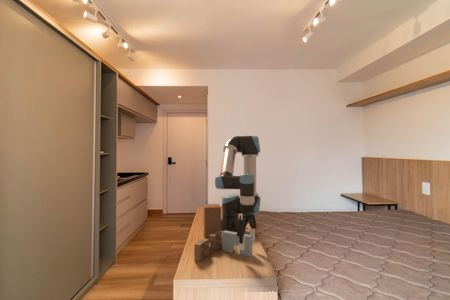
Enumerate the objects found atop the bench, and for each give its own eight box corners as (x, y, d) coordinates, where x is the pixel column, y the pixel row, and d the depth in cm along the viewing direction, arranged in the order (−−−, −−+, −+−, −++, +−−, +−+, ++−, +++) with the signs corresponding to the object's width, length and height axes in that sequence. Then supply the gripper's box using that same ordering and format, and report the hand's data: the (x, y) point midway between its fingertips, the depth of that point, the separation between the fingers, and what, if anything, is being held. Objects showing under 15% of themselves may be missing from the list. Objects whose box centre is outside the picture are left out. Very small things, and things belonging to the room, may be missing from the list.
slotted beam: (217, 244, 132) (217, 230, 132) (221, 245, 131) (221, 231, 131) (194, 260, 113) (194, 244, 113) (199, 261, 112) (199, 245, 112)
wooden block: (221, 240, 139) (221, 207, 140) (204, 241, 138) (204, 207, 138) (218, 234, 149) (218, 203, 149) (203, 235, 147) (203, 204, 148)
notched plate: (225, 248, 127) (225, 230, 127) (252, 254, 119) (252, 235, 119) (222, 250, 124) (222, 231, 124) (249, 256, 117) (249, 237, 117)
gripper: (249, 199, 132) (249, 236, 131) (229, 207, 110) (229, 252, 110) (262, 200, 128) (262, 238, 128) (243, 209, 107) (244, 255, 106)
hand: (247, 245), depth 119 cm, fingers open, 13 cm apart
